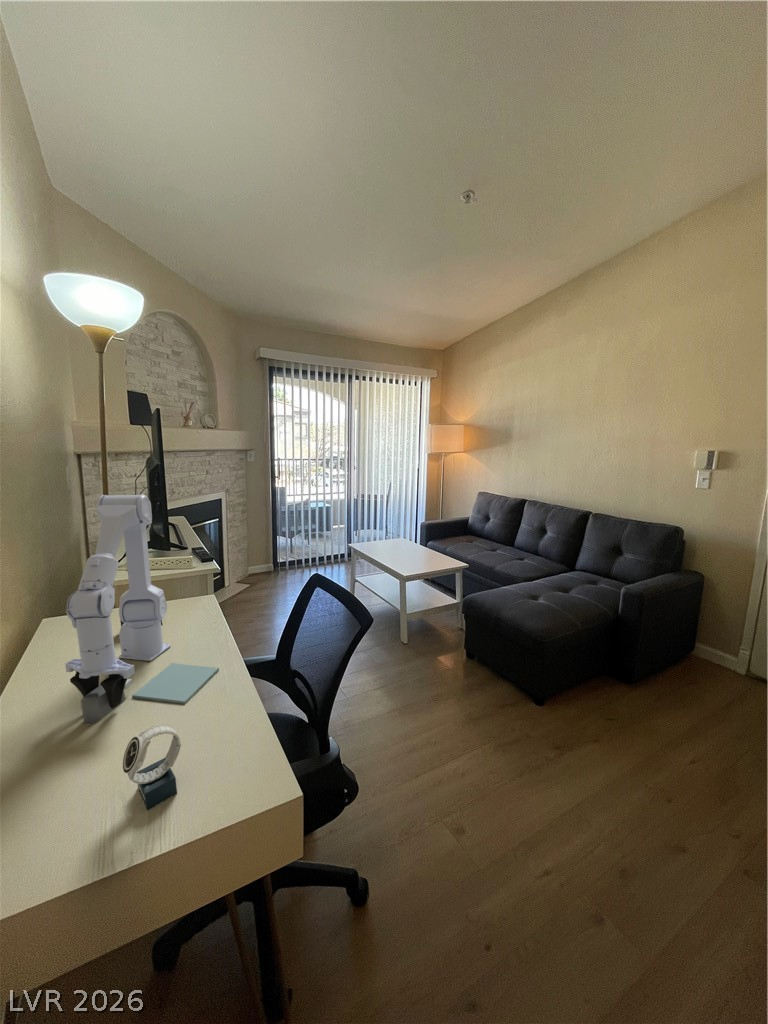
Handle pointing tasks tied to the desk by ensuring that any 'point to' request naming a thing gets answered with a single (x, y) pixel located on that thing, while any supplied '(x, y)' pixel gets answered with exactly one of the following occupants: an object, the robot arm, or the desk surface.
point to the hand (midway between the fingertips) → (104, 703)
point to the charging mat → (176, 683)
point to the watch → (152, 766)
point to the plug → (98, 704)
